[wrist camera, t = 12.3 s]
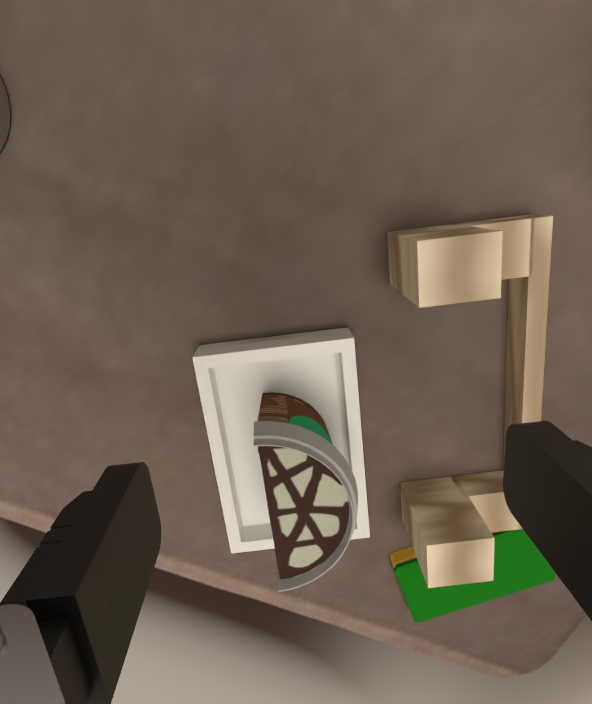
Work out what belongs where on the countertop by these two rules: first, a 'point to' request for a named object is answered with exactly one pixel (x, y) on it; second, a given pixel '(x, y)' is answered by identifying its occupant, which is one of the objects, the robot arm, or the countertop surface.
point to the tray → (243, 409)
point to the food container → (303, 489)
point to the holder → (520, 384)
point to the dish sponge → (509, 577)
